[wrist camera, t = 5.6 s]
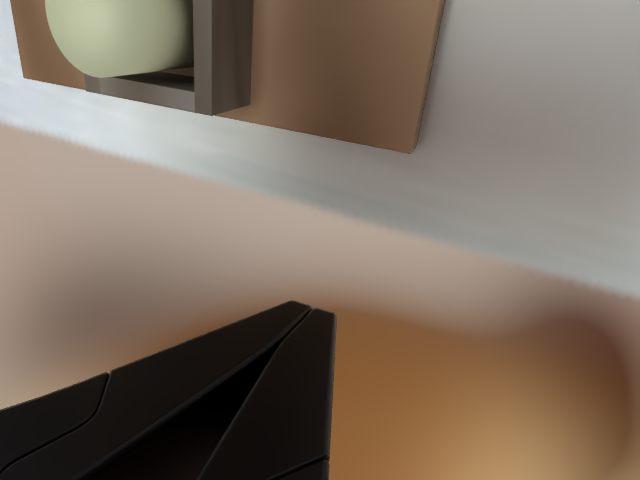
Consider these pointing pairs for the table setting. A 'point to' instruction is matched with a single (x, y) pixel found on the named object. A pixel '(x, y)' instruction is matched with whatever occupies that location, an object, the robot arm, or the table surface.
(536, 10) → the table surface
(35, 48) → the button panel
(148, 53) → the sage button
